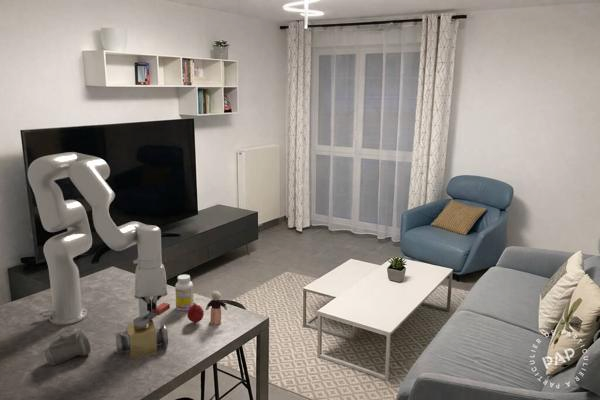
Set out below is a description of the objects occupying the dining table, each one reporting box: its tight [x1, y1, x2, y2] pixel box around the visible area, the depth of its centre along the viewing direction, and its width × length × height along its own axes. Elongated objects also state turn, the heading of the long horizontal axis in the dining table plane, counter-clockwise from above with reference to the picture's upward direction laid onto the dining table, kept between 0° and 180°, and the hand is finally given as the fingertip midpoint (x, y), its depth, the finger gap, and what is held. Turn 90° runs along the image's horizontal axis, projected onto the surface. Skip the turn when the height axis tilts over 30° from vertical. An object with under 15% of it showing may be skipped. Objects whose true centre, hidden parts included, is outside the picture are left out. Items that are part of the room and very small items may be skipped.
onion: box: [186, 302, 205, 324], centre depth 174 cm, size 6×6×8 cm
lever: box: [132, 302, 171, 330], centre depth 160 cm, size 16×5×2 cm, turn 159°
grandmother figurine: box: [205, 290, 228, 326], centre depth 174 cm, size 8×4×13 cm, turn 102°
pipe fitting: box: [44, 325, 91, 367], centre depth 149 cm, size 12×8×10 cm
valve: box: [115, 319, 169, 359], centre depth 156 cm, size 15×8×8 cm, turn 115°
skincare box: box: [138, 296, 158, 317], centre depth 177 cm, size 6×4×12 cm
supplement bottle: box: [175, 274, 195, 312], centre depth 185 cm, size 7×7×13 cm
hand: (151, 312), depth 165 cm, fingers closed
